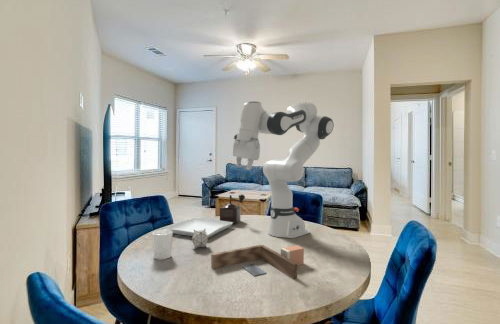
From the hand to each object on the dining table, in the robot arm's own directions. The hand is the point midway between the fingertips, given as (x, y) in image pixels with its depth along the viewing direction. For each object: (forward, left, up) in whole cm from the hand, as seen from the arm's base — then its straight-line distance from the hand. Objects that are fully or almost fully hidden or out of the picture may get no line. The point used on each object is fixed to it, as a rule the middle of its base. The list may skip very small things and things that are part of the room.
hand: (243, 168), depth 123 cm
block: (-8, +25, -36) cm, 44 cm away
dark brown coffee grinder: (-16, -41, -36) cm, 57 cm away
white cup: (+34, -6, -36) cm, 49 cm away
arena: (+9, +24, -36) cm, 44 cm away
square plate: (+8, -34, -36) cm, 50 cm away
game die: (+17, -9, -36) cm, 41 cm away
